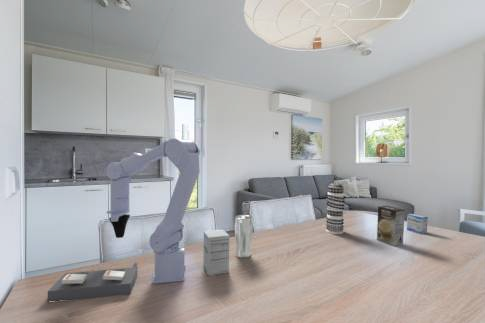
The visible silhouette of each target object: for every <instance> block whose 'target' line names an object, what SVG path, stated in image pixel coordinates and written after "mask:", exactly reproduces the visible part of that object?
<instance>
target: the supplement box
mask: <svg viewBox="0 0 485 323" xmlns="http://www.w3.org/2000/svg"><path fill="white" fill-rule="evenodd" d="M203 268H204V269H205V271H206V274H207V275H208V276H214V275H219V274H225V273H229V272H230V234H229V233H227V232H226V231H225V229H221V228H220V229H211V230H204V231H203Z"/></svg>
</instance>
